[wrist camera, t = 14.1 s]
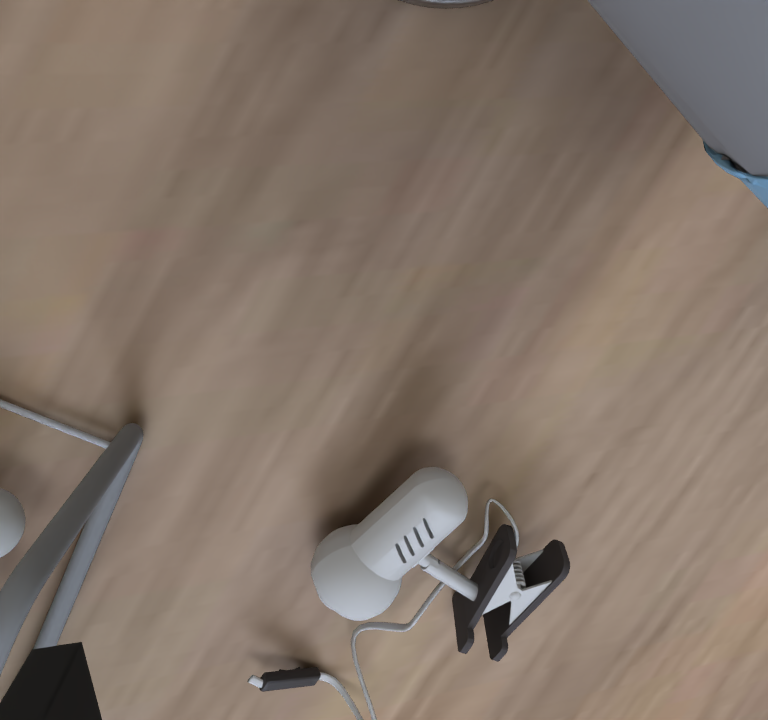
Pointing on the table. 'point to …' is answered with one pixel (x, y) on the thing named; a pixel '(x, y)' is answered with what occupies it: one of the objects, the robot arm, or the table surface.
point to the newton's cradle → (61, 534)
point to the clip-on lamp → (411, 547)
